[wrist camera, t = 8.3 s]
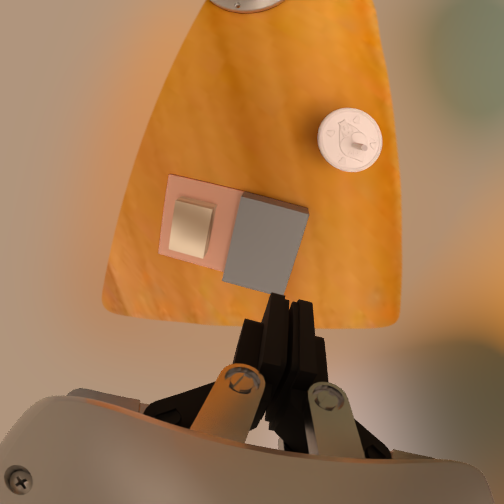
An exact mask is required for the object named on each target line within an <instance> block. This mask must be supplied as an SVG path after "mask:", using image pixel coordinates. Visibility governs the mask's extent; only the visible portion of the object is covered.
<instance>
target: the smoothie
mask: <svg viewBox="0 0 504 504" xmlns="http://www.w3.org/2000/svg"><path fill="white" fill-rule="evenodd" d="M317 140H318V147H319V149H320V152H321V154H322V155H323V157H324V158H325V159H326V161H327V162H328V163H330V164H331V165H332V166H333V167H336V168H338V169H340V170H343V171H347V172H358V171H362V170H364V169H366V168H368V167H370V166H371V165H372V164H373V163H374V162H375V161H376V160H377V158H378V156H379V154H380V152H381V148H382V135H381V131H380V129H379V126H378V125H377V123H376V122H375V120H374V119H373V118H372V117H371V116H370V115H368V114H367V113H365V112H363V111H361V110H359V109H355V108H341V109H338V110H335V111H333V112H331V113H330V114H328V115H327V116H326V117H325V118H324V120H323V121H322V122H321V125H320V127H319V129H318V136H317Z"/></svg>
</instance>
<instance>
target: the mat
mask: <svg viewBox="0 0 504 504" xmlns="http://www.w3.org/2000/svg"><path fill="white" fill-rule="evenodd" d="M244 192H245V191H241V190H237V189H233V188H229V187H225V186H221V185H217V184H212V183H208V182H204V181H200V180H195V179H191V178H186V177H182V176H177V175H173V174H169V177H168V184H167V190H166V197H165V204H164V211H163V218H162V226H161V234H160V243H159V252H158V253H159V254H162V255H165V256H169V257H172V258H176V259H179V260H183V261H186V262H190V263H194V264H197V265H201V266H204V267H208V268H211V269H215V270H219V271H222V272H224V270H225V265H226V261H227V256H228V252H229V247H230V243H231V238H232V234H233V229H234V225H235V221H236V216H237V212H238V208H239V203H240V199H241V196H242V194H243V193H244ZM181 196H184V197H188V198H192V199H197V200H201V201H205V202H209V203H213V204H217V207H216V212H215V217H214V222H213V227H212V232H211V237H210V242H209V247H208V252H207V253H206V255H205V257H204V258H203V259H202V258H198V257H195V256H191V255H188V254H184V253H180V252H177V251H173V250H170V249H169V241H170V234H171V227H172V220H173V213H174V206H175V200H177V199H178V198H180V197H181Z"/></svg>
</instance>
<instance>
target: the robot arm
mask: <svg viewBox="0 0 504 504" xmlns="http://www.w3.org/2000/svg"><path fill="white" fill-rule="evenodd" d="M210 1H211V2H212V3H214V4H215V5H216V6H218V7H220V8H222V9H225V10H228V11H231V12H238V13H253V12H260V11H264V10H268V9H270V8H272V7H275V6H277V5H278V4H280V3H282V2H283V1H284V0H210ZM238 6H240V8H237V7H238ZM265 411H266V415H265V421H269V430H273V431H275V432H276V434H277V435H278V436H279V437H280V438H279V440H278V449H279V450H277V449H271V448H266V447H261V446H255V445H250V444H245V441H246V438H247V435H248V433H249V431H250V430H252V429H254V428H256V427H257V425H258V423H259V421H260V420H261V419H262V417H263V415H264V413H265ZM31 475H32V476H31ZM0 504H495V503H494V499H493V496H492V493H491V490H490V487H489V485H488V482H487V480H486V478H485V476H484V474H483V473H482V472H481V471H480V470H479V469H478V468H476V467H474V466H472V465H470V464H467V463H463V462H460V461H455V460H447V459H435V458H432V457H428V456H422V455H418V454H412V453H408V452H404V451H399V450H395V449H393V450H392V451H389V449H388V448H387V447H386V446H385V445H384V444H383V443H382V442H381V441H380V440H378V439H377V438H376V437H375V436H374V435H372V434H371V433H370V432H369V431H368V430H366V428H364V427H363V426H362V425H361V424H360V423H359V422H357V421H356V420H355V419H354V417H353V413H352V410H351V407H350V404H349V401H348V398H347V396H346V393H345V392H344V391H343V390H342V389H341V388H339V387H338V386H336V385H334V384H332V383H329V382H328V373H327V362H326V352H325V342H324V338H322V337H317V336H315V328H314V316H313V304H312V302H308V301H304V300H300V299H299V300H298V301H297V302H292V304H291V307H290V309H289V300H285V296H284V295H280V294H277V293H273V292H271V295H270V298H269V301H268V304H267V307H266V310H265V313H264V316H263V319H262V322H261V323H260V322H256V321H252V320H249V319H245V320H244V323H243V327H242V330H241V334H240V337H239V341H238V345H237V348H236V352H235V356H234V360H233V364H231V365H229V366H226V367H225V368H224V369H223V370H222V371H221V373H220V374H219V376H218V378H217V380H216V381H215V382H213V383H210V384H207V385H204V386H201V387H198V388H195V389H192V390H189V391H186V392H183V393H181V394H178V395H174V396H171V397H168V398H164V399H161V400H158V401H155V402H153V403H151V404H150V405H149V404H143V403H140V400H137V399H132V398H126V397H121V396H116V395H112V394H106V393H102V392H98V391H94V390H89V389H83V388H79V389H75V390H73V391H71V392H70V393H68V395H67V396H52V397H47V398H44V399H42V400H40V401H38V402H36V403H35V404H34V405H32V406H31V407H30V408H29V409H28V410H27V411H26V412H25V413H24V414H23V415H22V416H21V417H20V418H19V419H18V421H17V422H16V423H15V424H14V426H13V427H12V428H11V429H10V431H9V432H8V433H7V435H6V436H5V438H4V439H3V441H2V442H1V444H0Z"/></svg>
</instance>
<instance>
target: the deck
mask: <svg viewBox="0 0 504 504" xmlns="http://www.w3.org/2000/svg"><path fill="white" fill-rule="evenodd" d="M308 217H309V211H308V208H305V207H301V206H298V205H294V204H291V203H287V202H283V201H280V200H276V199H272V198H268V197H264V196H261V195H257V194H253V193H249V192H244V193H243V194H242V196H241V199H240V203H239V208H238V212H237V216H236V221H235V225H234V229H233V234H232V238H231V243H230V247H229V252H228V256H227V261H226V265H225V270H224V274H223V279H222V281H224V282H228V283H231V284H235V285H239V286H242V287H246V288H250V289H253V290H257V291H261V292H265V293H269V294H271V292H273V293H277V294H280V295H284V292H285V289H286V286H287V283H288V280H289V277H290V274H291V271H292V268H293V264H294V261H295V258H296V255H297V252H298V249H299V246H300V243H301V240H302V236H303V233H304V230H305V227H306V224H307V220H308Z"/></svg>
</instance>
